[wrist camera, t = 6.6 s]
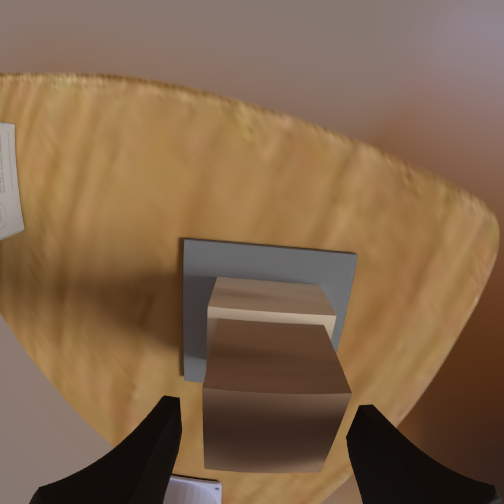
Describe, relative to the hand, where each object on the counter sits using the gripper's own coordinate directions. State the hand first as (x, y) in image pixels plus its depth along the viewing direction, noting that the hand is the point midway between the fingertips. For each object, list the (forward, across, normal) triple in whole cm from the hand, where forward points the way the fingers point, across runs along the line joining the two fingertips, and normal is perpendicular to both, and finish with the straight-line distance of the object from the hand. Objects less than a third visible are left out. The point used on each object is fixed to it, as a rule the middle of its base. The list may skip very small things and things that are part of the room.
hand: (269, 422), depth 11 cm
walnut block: (+4, 0, 0) cm, 4 cm away
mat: (+8, 0, 0) cm, 9 cm away
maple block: (+8, 0, 0) cm, 8 cm away
